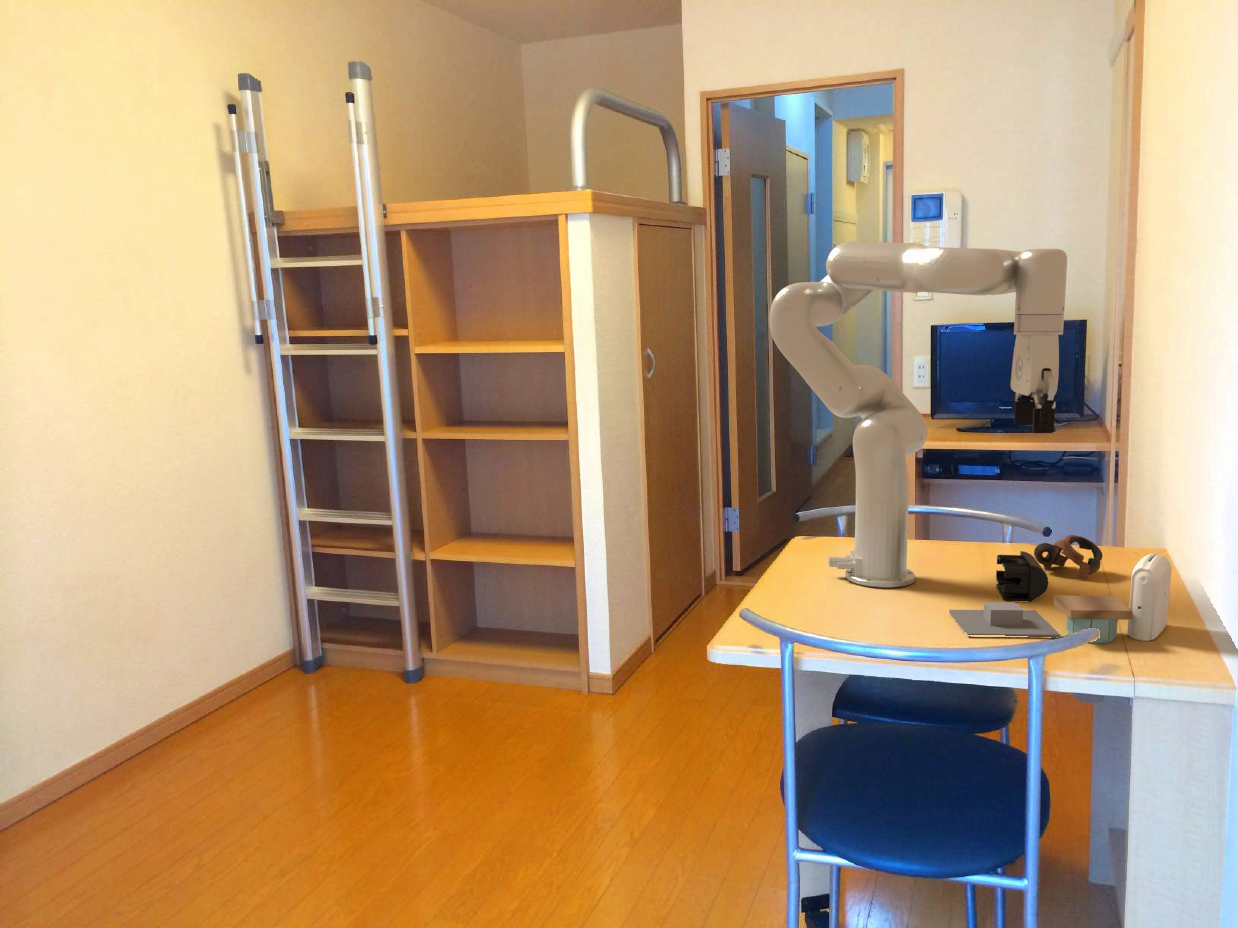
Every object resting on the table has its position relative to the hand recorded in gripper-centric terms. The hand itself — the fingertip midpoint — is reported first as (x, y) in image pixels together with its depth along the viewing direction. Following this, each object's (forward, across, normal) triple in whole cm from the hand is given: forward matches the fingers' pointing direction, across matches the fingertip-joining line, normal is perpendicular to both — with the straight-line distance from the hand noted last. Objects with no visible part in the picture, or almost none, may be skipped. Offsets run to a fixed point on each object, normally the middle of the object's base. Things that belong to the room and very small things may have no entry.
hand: (1033, 428), depth 170 cm
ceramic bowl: (+30, +17, +5) cm, 35 cm away
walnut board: (+26, +17, +5) cm, 32 cm away
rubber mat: (+30, +12, -7) cm, 33 cm away
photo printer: (+31, +14, +14) cm, 37 cm away
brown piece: (+31, -19, +13) cm, 38 cm away
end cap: (+31, -5, +1) cm, 31 cm away
